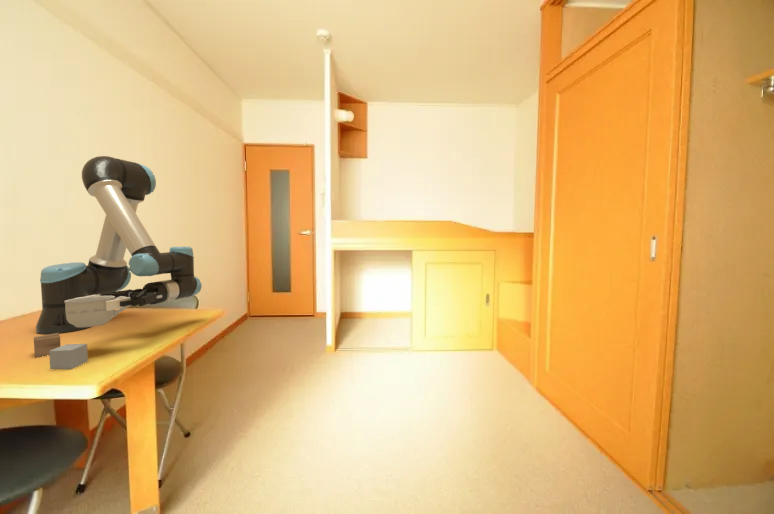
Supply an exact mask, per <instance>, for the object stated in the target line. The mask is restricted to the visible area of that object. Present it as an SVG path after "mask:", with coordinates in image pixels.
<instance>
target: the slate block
mask: <svg viewBox="0 0 774 514" xmlns="http://www.w3.org/2000/svg"><path fill="white" fill-rule="evenodd" d="M88 360H89V358H88V343H69V344H68V343H67V344H63V345H61V347H58V348H55V349H53V350H50V351H49V370H50V369H63V370H73V368H74V369H76V368H77V366H78V367H79V365H80V366H81V364H82V365H83V363H84V364H86V363H87V361H88ZM85 362H86V363H85ZM75 367H76V368H75Z"/></svg>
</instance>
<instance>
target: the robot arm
mask: <svg viewBox="0 0 774 514" xmlns="http://www.w3.org/2000/svg"><path fill="white" fill-rule="evenodd" d="M81 179H82V183H83V186H84V188H85V190H86V191H87V193H88V194H89V195H90V197H94V198H95V199H96V201H97V202H98V204H99V206H100V207H101V209H102V210H103V212H104V214H105V216H104V220H103V224H102V229H101V232H100V237H99V240H98V244H97V249H96V253H95V255H92V256H90V257H89V259H88V263H87V265H86V263H84V262H79V261H78V262H68V263H66V262H65V263H64V262H63V263H58V264H52V265H48V266H45V267H44V268H42V269H41V271H40V279H39V282H40V287H41V288H40V291H41V308H42V309H41V312H40V315H39V317H38V320H37V322H36V326H35V332H36V334H39V335H40V334H42V335H48V334H55V333H59V334H61V333H63V334H64V333H70V332H71V333H72V332H77V331H80V330H85V329H88V328H90V327H75V326H74V325H72V324H70V323H69V322H68V321H67V319H66V310H65V302H64V301H66V300H70V299H75V298H83V297H92V296H115V298H117V297H120V296H125V297H127V298H121V299H116V300H110V301H105V304H106V311H110V310H118V309H120V308H125V307H127V308H129V307H137V306H139V307H143V306H145V305H146V306H147V305H157V304H162V303H168V304H169V303H170V301H175V300H179V299H183V298H190V297H193V296H196V295H198V294H199V293H200V292H201V291H202V282H201V280H200V279H199V278H198V277H197V276H195V265H194V262H195V261H194V260H195V259H194V258H195V256H194V249H193V247H191V246H171V247H169V250H168V251H167V252H160V250H159V249H158V247H157V246H156V245H155V243H154V241H153V239H152V237H151V236H150V234H149V232H148V231H147V230H146V228H145V226H144V225H143V223H142V221H141V219H140V218H139V217H138V215H137V208H138V206H139V204H140V203H143V202H144V201H145V198H146V196H148V195H151V194H152V193H153V192H154V191H155V189H156V187H157V185H156V184H157V179H156V177H155V175H154V172H153V171H152V170H151V169H150V168H149V167H148V166H146V165H144V164H141V163H139V162H134V161H130V160H129V161H128V160H125V159H120V158H115V157H113V156H109V155H108V156H107V155H99V156H95V157H93V158H91V159H89V160H87V161H86V162H85V164H84V165H83V167H82V170H81ZM127 250H128V252H129V254H130V258H129V260H128V262H127V261H126V260H125V259H124V258H125V254H126V251H127ZM127 264H128V265H129V266H128V265H127ZM132 274H133V275H134V276H137V277H153V276H159V275H163V274H164V275H165V274H166V275H167V274H170V279H165V280H159V281H154V282H153V281H152V282H148V283H146V284H144V285H143V287H142V288H136V289H125V288H126V287H127V286H128V285H129V283H131V278H132ZM124 289H125V290H124Z"/></svg>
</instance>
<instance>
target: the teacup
mask: <svg viewBox="0 0 774 514" xmlns="http://www.w3.org/2000/svg"><path fill="white" fill-rule="evenodd" d="M91 296H92V295H91ZM121 298H127V297H125V296H120V297H117V298H115V296H92V297H83V298H75V299H70V300H66V301H64V302H65V310H66V319H67V321H68V322H69V323H70V324H72V325H74V326H75V327H89V328H92V327H97V326H98V327H99V326H103V325H106V324H107V323H109V322H110V321H111V320H112V319H113V318H114V317H117V316H118V315H119V313H121V312H124V310H126V309H127V308H128V307H125V308H120V309H115V310H110V311H106V304H105V301H110V300H116V299H121Z"/></svg>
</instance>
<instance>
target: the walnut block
mask: <svg viewBox="0 0 774 514" xmlns="http://www.w3.org/2000/svg"><path fill="white" fill-rule="evenodd" d="M61 346H62V345H61V335H60V333H54V334H42V335H36V336H33V348H34V349H33V351H34V358H35V359H37V357H38V358H42V356H44V357H48V356H47V355H49V351H50V350H53V349H55V348H58V347H61Z"/></svg>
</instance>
